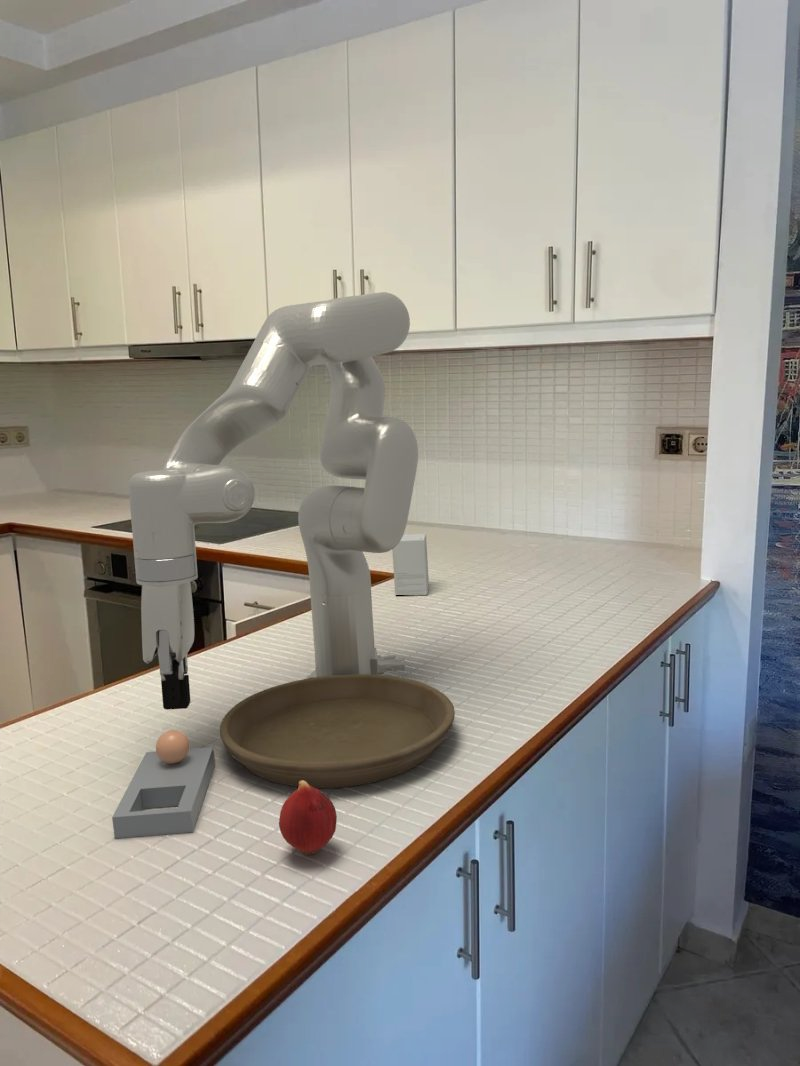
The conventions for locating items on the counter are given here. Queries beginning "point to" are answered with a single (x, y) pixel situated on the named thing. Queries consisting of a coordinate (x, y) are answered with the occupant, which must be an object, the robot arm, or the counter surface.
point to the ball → (172, 746)
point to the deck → (164, 795)
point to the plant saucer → (337, 729)
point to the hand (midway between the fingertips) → (177, 706)
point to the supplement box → (411, 565)
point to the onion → (307, 819)
